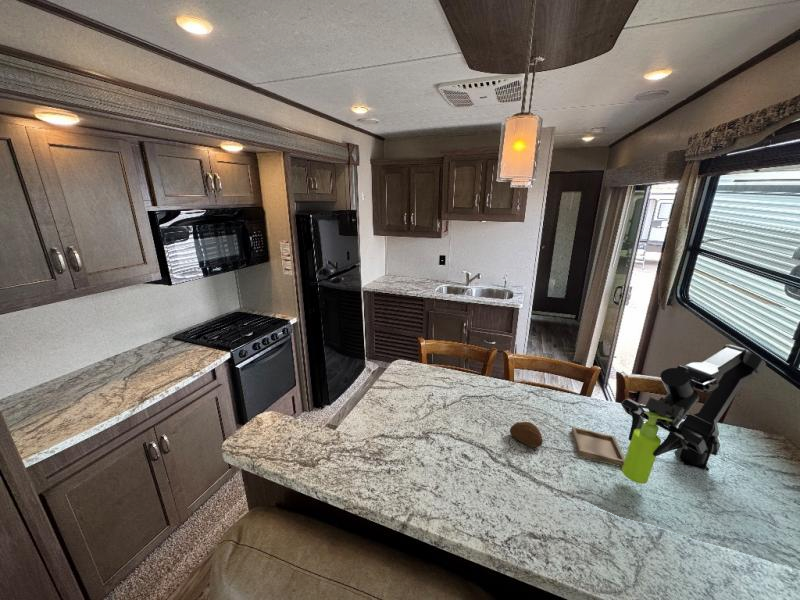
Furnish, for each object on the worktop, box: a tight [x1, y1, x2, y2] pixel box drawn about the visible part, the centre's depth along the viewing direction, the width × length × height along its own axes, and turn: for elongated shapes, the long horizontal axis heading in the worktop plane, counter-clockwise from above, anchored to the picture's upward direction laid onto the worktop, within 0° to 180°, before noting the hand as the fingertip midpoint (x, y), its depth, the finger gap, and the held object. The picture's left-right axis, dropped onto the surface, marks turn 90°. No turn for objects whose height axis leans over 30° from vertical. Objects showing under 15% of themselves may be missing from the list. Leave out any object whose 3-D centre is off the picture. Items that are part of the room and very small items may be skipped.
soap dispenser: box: [621, 410, 673, 485], centre depth 85 cm, size 6×7×20 cm
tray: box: [571, 426, 626, 467], centre depth 103 cm, size 13×13×2 cm
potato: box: [509, 421, 543, 448], centre depth 104 cm, size 7×10×7 cm
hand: (641, 447), depth 85 cm, fingers closed on soap dispenser, 6 cm apart
